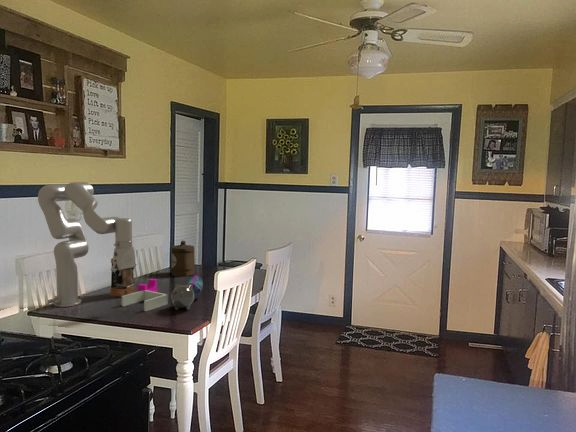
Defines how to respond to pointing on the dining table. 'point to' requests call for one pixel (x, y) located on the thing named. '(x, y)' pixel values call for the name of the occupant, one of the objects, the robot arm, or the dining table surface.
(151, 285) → the toy block
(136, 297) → the u-shaped bracket
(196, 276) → the pencil case
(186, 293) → the piggy bank
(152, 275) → the dining table surface
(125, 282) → the block
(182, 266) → the brown rounded container
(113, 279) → the whiskey bottle
